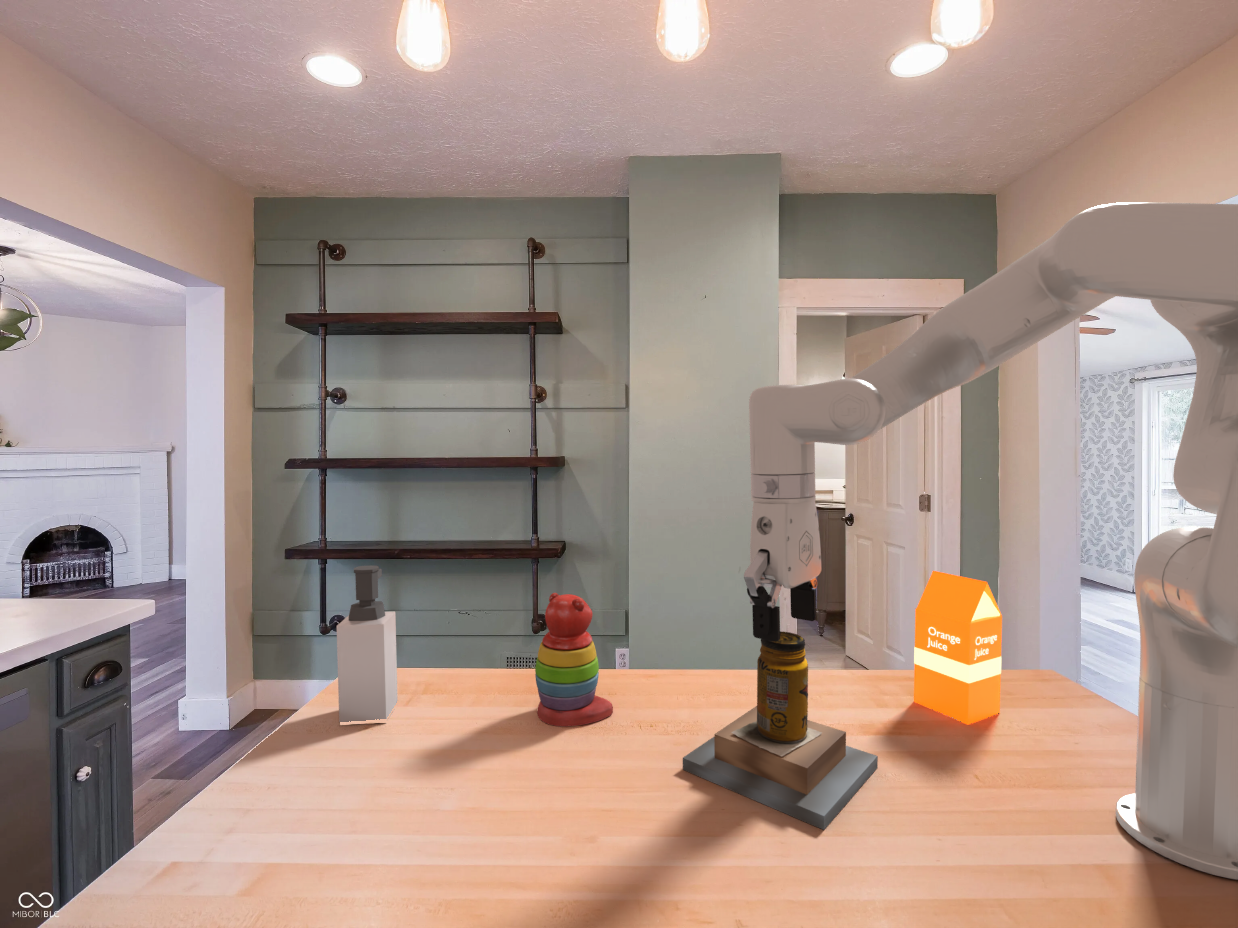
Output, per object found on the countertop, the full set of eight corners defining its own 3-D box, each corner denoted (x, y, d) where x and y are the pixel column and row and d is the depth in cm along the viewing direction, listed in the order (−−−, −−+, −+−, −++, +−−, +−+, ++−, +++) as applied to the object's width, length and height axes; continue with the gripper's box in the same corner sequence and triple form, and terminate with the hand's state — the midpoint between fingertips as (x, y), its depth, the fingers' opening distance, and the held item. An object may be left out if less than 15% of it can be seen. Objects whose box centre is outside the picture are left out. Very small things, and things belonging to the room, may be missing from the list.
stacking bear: (619, 712, 93) (618, 594, 92) (567, 736, 85) (566, 608, 85) (571, 691, 100) (570, 582, 99) (520, 712, 93) (518, 594, 92)
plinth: (877, 767, 77) (878, 731, 77) (823, 829, 65) (824, 787, 65) (748, 723, 89) (748, 692, 89) (682, 769, 77) (682, 733, 77)
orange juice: (967, 725, 88) (970, 585, 87) (912, 701, 96) (914, 572, 95) (1001, 713, 92) (1004, 578, 91) (945, 691, 99) (947, 567, 99)
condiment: (822, 734, 76) (823, 637, 76) (781, 758, 71) (782, 654, 70) (772, 714, 82) (772, 624, 81) (731, 734, 76) (731, 638, 76)
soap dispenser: (401, 697, 98) (398, 559, 97) (386, 723, 90) (382, 571, 89) (358, 699, 98) (355, 560, 97) (339, 725, 89) (335, 573, 88)
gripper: (777, 495, 66) (781, 654, 67) (841, 483, 79) (844, 617, 80) (717, 493, 71) (721, 641, 72) (786, 482, 84) (789, 607, 85)
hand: (785, 628), depth 76 cm, fingers open, 9 cm apart
